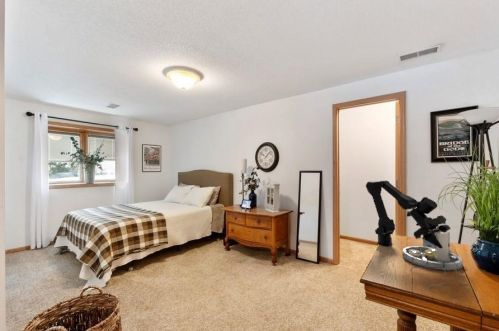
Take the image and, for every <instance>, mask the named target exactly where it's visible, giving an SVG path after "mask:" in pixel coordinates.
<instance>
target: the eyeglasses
mask: <svg viewBox="0 0 499 331" xmlns="http://www.w3.org/2000/svg"><path fill="white" fill-rule="evenodd" d="M448 266H449V265H448ZM450 267H451V266H450ZM428 268H444V271H443V272H444V273H445V274H447V271H445V266H444V267H420V266H417V267H416V266H413V267H411V268H410V272H412V271H413V269H428ZM451 268H452V267H451ZM453 269H454V268H453ZM454 270H456V269H454ZM455 275H456V277H455V280H457V278H458V275H459V279H460V282H461V285H462V286H464V287H465V284H464V283H463V281H462V276H463V277H465V279H466V280H467V286H468V292H470V287H471V286H470V283H469V280H468V278H467V277H466V275H464V274H463V273H461V272H460V270H457V271H455ZM432 286H435V287H436V286H437V287H438V286H439V287H440V286H442V287H443V286H444V287H445V286H448V284H430V285H429V286H428V288H429V290H431V289H432V288H431V287H432Z"/></svg>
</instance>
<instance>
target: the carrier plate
mask: <svg viewBox="0 0 499 331" xmlns="http://www.w3.org/2000/svg"><path fill="white" fill-rule="evenodd" d="M448 254H449V258H450V262H449V263H445V262H440V261H437V260H435V256H436V248H433V247H424V246H423V245H411V246H406V247H403V249H402V259H403V260H404V261H406V262H408V263H410V264H412V265H414V266H417V267H420V266H421V267H444V266H445V271H444V268H427V269H429V270H434V271H442V272H458V271H460V270H462V269H463V267H464V266H463V259H462V257H460V256H459V255H458V254H456V253H453V252H451V251H448ZM448 265H449V266H448ZM450 266H451V267H452V268H451V267H450ZM453 268H454V269H456V270H454V269H453Z"/></svg>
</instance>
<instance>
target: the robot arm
mask: <svg viewBox="0 0 499 331" xmlns="http://www.w3.org/2000/svg"><path fill="white" fill-rule="evenodd" d="M365 188H366V190H367V193H368V194H369V195H371V197H372V200H373V203H374V207H375V209H376V213H377V216H378V221H377V224H378V225H377V226H378V227H377V228H376V229H375V230H374V231H375V235H377V242H376V244H377V245H380V246H384V247H390V246H392V245H393V243H392V242H393V241H392V238H393V237H392V235H393V234H394V232H395V230H396V224H395V221H394V219H393V218H392V219H391V218H390V217H389V215H388V213H387V208H386V207H385V204H384V200H383V197H382V195H381V193H382V189H383V190H384V191H386V192H387V193H388V194H390V196H391V197H393V198H394V200H396V201H397V204H398V206H400V207H401V209H403V210H409V211H406V217H407V218H408V217H412V219H413V220H414V221H415V222H416V223H415V225H416V226H417V227H418V226H419V228H418V229H417V230H415V231H414V232H413V237H414V238H415V239H416V240H417V239H422V240H423V239H424V240H426V241H428V242H430V243H432V244H434V245H435V246H437V247H439V248H440V249H441V248H443V247H442V245H441V244H440V243H439V241H438V240H437V238H436V236H435V235H436V232H445V233H446V232H447V231H448V232H449V231H450V230H451V226H449V224H446V223H447V222H446V221H447V218H446V217H445V216H443V215H438V216H437V217H433V218H432V217H428V216H427V215H429V214H431V213H432V212H433V211H434V210H436V209H437V208H438V204H437V202H436V201H434V200H432V199H430V198H428V197H427V196H424V197H422V198H421V200H420V201H419V200H417V199H415V198H413V197H412V196H410V195H406V194H404V193H403V192H402V191H400V190H399V189H398V188H397V187H395V186H394V185H393V184H392V183H390V181H389V180H380V181H378V180H375V181H373V180H372V181H368V182H366V184H365ZM449 246H450V247H451V244H450V245H449V243H448V247H449Z"/></svg>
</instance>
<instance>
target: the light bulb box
mask: <svg viewBox="0 0 499 331" xmlns="http://www.w3.org/2000/svg"><path fill="white" fill-rule="evenodd" d="M446 233H448V243H449V245H450V246H449V247H448V251H449V252H451V235H450V233H451V232H450V231H449V230H448V231H447V232H446ZM435 236H436V235H435ZM422 246H424V247H433V248H436V246H435V245H434V244H432V243H430V242H428V241H426V240H424V239H422Z"/></svg>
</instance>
